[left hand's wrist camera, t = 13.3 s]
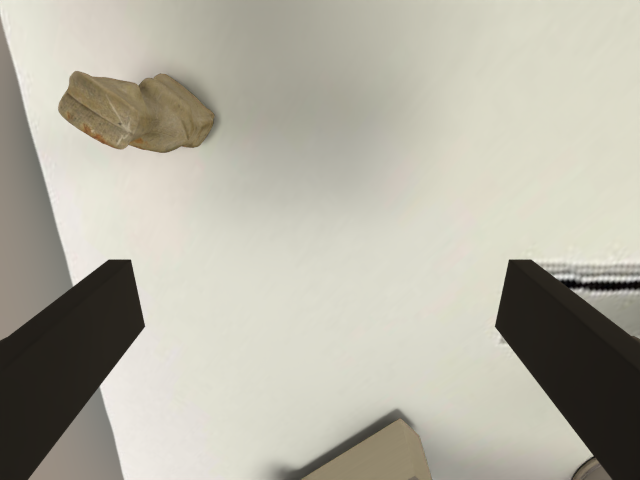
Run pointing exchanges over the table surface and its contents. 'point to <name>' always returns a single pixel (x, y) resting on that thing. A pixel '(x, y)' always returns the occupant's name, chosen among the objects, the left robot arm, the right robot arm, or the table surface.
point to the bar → (380, 458)
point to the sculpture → (136, 112)
